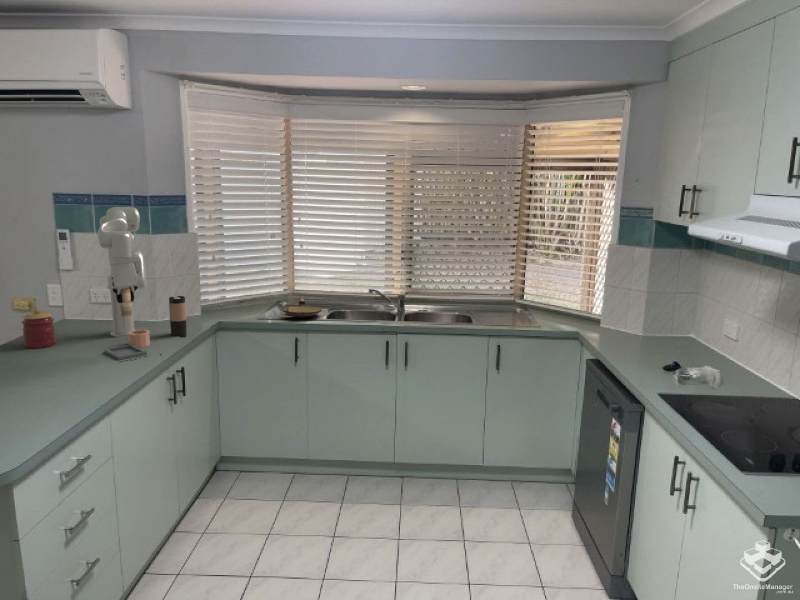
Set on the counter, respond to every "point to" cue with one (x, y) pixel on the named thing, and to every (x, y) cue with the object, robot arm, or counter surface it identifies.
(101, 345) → the counter surface
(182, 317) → the travel mug
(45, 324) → the canister
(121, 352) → the tray
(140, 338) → the cup
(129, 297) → the peg
